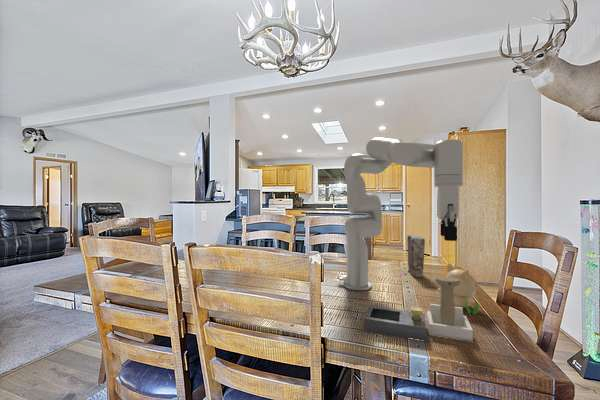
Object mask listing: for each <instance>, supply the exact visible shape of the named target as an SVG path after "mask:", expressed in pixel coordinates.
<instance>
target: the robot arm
mask: <svg viewBox="0 0 600 400" xmlns="http://www.w3.org/2000/svg"><path fill="white" fill-rule="evenodd" d="M463 147H464V145H463V142H462V141H461V140H459V139H454V138H453V139H451V138H450V139H442V140H439V141H437V142H436V143H435V144H430V143H421V142H420V143H419V142H408V141H403V140H402V139H397V138H396V139H395V138H389V137H387V138H386V137H373V138H371V139H370V140H368V141H367V143H366V145H365V151H366V152H367V154H366V153H354V154H351V155H349V156H348V157H347V158H346V159H345V161H344V165H343V174H344V178H345V182H346V204H347V205H346V206H347V210H348V212H349V213H350V214H352V215H366V216H355V217H350V218H348V219H346V221H345V222H344V225H343V226H344V233H345V239H346V240H345V241H346V275H340V274H338V275H337V280H339V281H340V282H342V281H343V287H344V288H346V289H348V290H353V291H367V290H370V289H372V288H373V287H372V283H371V282H370V281H369V247H368V244H367V242H366V240H365V238H375V237H378V236H380V235H381V233H382V228H383V220H382V219H383V216H382V215H383V212H382V203H381V202H382V201H381V199H380V197H379V196H378V195H377V194H375V193H367V190H366V181H365V179H364V178H363V176H362V175H361V174H370V175H371V174H373V175H378V174H380V173H383V172H384V171H385V170H386V169H387V168H389V166H390V165H393V164H397V165H401V166H406V167H413V168H431V169H434V171H433V172H434V174H433V175H434V176H433V177H434V181H433V182H434V187H436V188H437V195H436V196H437V199H436V200H437V201H436V217H437V218H438V219H439V220H440V236H441V237H443V239H444V240H445V241H447V242H450V241H451V242H452V241H453V242H457V240H458V226H457V225H458V224H457V219H458V218H459V207H460V205H459V204H460V203H459V200H460V198H459V196H460V195H459V187H463V185H464V184H463V181H464V179H463V177H464V176H463V174H464V173H463V172H464V171H463V170H464V169H463V168H464V165H463V161H464V158H463V157H464V156H463V151H464V150H463V149H464V148H463Z"/></svg>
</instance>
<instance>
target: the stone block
mask: <svg viewBox="0 0 600 400" xmlns="http://www.w3.org/2000/svg"><path fill="white" fill-rule="evenodd" d="M406 239H407V240H406V241H407V242H406V243H407V245H406V246H407V266H408V273H409V274H410V275H412V276H413V277H416V278H423V275H424V265H425V263H424V262H425V248H426V247H425V245H426V244H425V243H426V239H425V238H424V237H421V236H420V235H413V234H412V235H411V234H408V235H407V238H406Z"/></svg>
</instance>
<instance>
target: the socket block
mask: <svg viewBox="0 0 600 400" xmlns="http://www.w3.org/2000/svg"><path fill="white" fill-rule="evenodd" d="M363 320H364V321H363V327H364V328H363V331H364V332H366V333H371V334H377V335H382V336H388V337H393V338H399V339H400V338H401V339H406V340H409V339H408V338H413V339H419V340H425V341H427V342H428V340H427V339H428V338H427V333H428V330H427V328H428V326H427V321H426V314H425V313H424V312H422V315H421V314H420V321H415V320H413V313H411V310H404V309H401V310H400V309H395V308H389V307H380V306H373V305H368V307H367V310H366V313H365V315H364V318H363Z"/></svg>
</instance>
